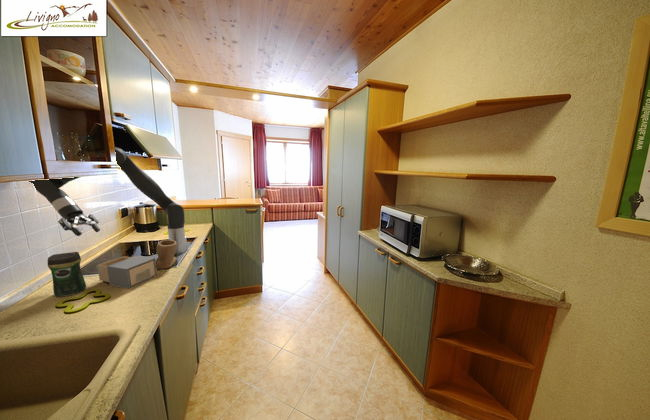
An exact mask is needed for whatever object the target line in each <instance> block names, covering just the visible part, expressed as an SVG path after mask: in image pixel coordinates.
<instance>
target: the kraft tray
mask: <svg viewBox="0 0 650 420" xmlns="http://www.w3.org/2000/svg"><path fill="white" fill-rule="evenodd" d="M128 258H131V256H121V257H118V258H114V259H112V260H108V261H105V262H103V263H100V264H99V263H98V264H97V265H96V266H97V271H98V277H99V281H100V282H101V281H102V282H107V283H110V282H109V276H108V269H107V266H109V265H112V264H114V263H117V262H120V261H123V260H126V259H128ZM128 272H129V279H130V286H132V285H134V284H137V283H139V282H141V281H143V280H145V279H147V278H149V277H152V276H154V275H155V269H154V261H153V260H152V261H149V262H147V263H144V264H142V265H139V266H136V267H134V268H131V269H129V270H128Z"/></svg>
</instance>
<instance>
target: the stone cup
mask: <svg viewBox="0 0 650 420" xmlns="http://www.w3.org/2000/svg"><path fill="white" fill-rule="evenodd" d="M176 248H177V243H176V242H175V241H173V240H169V239H162V240H160V241H158V243H157V245H156V254H157V256H158V259H157V260H156V261H155V262H156V270H163V269H169V268H171V267H173V265H174V264H175V263H176V261H177V259H178V257H177V256H175V255H176V254H175V251H176Z"/></svg>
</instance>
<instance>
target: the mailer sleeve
mask: <svg viewBox="0 0 650 420" xmlns="http://www.w3.org/2000/svg"><path fill="white" fill-rule="evenodd" d="M130 257H131V256H130ZM152 260H153V261H154V269H155V275H154V276H152V277H149V278H147V279H145V280H143V281H141V282H139V283H137V284H134V285H132V286H130V279H129V272H128V270H129V269H131V268H134V267H136V266H139V265H142V264H144V263H147V262H149V261H152ZM156 262H157V261H156V257H152V256H143V255H134V256H132V257H131V258H128V259H126V260H123V261H120V262H117V263H114V264H112V265H109V266H107V269H108V276H109V282H108V283H109V286H110V287H117V288H122V289H127V290H130V289H133V288H134V287H137V286H139V285H141V284H143V283H145V282H148V281H149V280H151V279H153V278H155V276H156V277H157V276H158V274H157V273H158V272H157V270H158V269H156Z"/></svg>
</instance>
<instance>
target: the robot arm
mask: <svg viewBox="0 0 650 420" xmlns="http://www.w3.org/2000/svg"><path fill="white" fill-rule="evenodd" d="M114 147H115V152H116V161H117V164H118V165H119V166H120V167H121V169H120V170H121V171H122V172H123V173H124V174H125V175H126V176H127V178H128V179H129V180H130V182H131V183H132V184H133V186H135V188H137V190H139V191H140V192H141V193H142V194H144V195H145V196H146V197H147V198H149V199H150V200H151V201H153V202H154V203H156V204H157V205H158V206H159V207H160V209H161V210H162V211H163V212H164V213H165V215H166V216H167V234H168V240H173V241H175V242H176V243H177V248H176V251H175V254H174V255H179V254H183V253H186V252H187V251H188V241H187V236H186V234H185V233H186V232H185V223H186V221H185V210H184V207H183V206H182V205H180V204H178V203H176V201H173V200H172V199H171V198H169V196H167V194H165V192H164V190H163V189H162V188H161V186H160V185H159V184H158V183H157V182H156V181H155V180H154V179H153V178H152V177H151V176H150V175H148V174H147V173H146V172H145V171H144V170H142V169H141V168H140V167H139V166H137V164H136V163H134V161H133V160H132V159H131V158H130V157H129V155H128V154H127V153H126V151H124V150H123V149H122V148H120V147H117V146H114ZM79 178H81V177H74V178H62V179H49V180H35V181H29V180H28V182H31V183H33V184H34V186H35V188H36V190H37V191H36V190H35V191H36V192H38V193H39V194H40V195H42V196H43V197H44V198H46V200H47V201H48V202H49V204H51V205H52V207H53V209H54V210H55V211H56V212H57V213H58V214H59V215H60V217H61V218H60V219H59V220H58V221H57V222H58V224H59V225H60V226H61V227H62V229H63V230H64V231H71V232H72V233H73V235H75V236H77V237H80V236H82V235H83V233H82V231H81V230H80V229H79V228H78V227H77V226H82V225H84V226H90V227H91V229H93V231H94V232H95V233H99V232H100V231H101V228H100V227H99V226H98V224H99V223H100V221H99V220H98V219H97V218H96V216H95V215H93V214H92V213H89V214H88V215H86V214H84V211H83V210H82V208H81V207H79V205H78V204H77V203H76V202H75V200H73V199H72V198H71V197H70V196H69V195H68V194H67V192H65V191H64V190H63V189H61V188H62V187H63V186H65V185H66V184H68V183H69V182H72V181H75V180H77V179H79Z"/></svg>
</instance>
